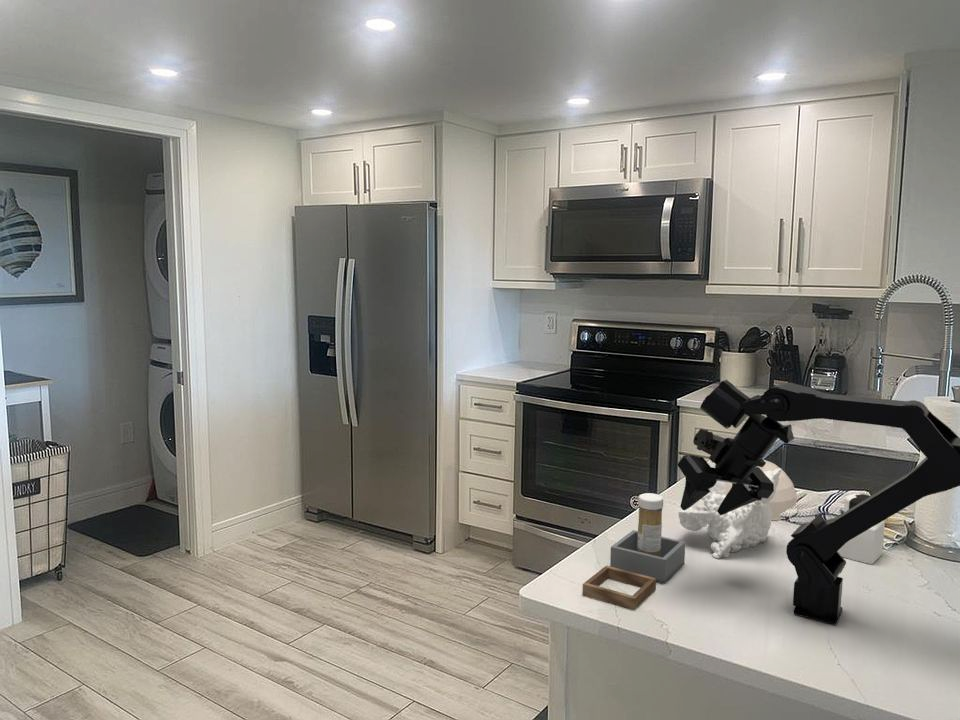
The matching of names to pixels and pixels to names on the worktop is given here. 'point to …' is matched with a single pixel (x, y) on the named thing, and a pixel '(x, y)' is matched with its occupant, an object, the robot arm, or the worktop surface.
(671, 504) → the worktop surface
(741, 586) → the worktop surface
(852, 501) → the medicine bottle
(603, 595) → the walnut holder
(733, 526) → the white coral
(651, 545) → the sprinkles bottle
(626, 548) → the grey bin
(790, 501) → the kettle
